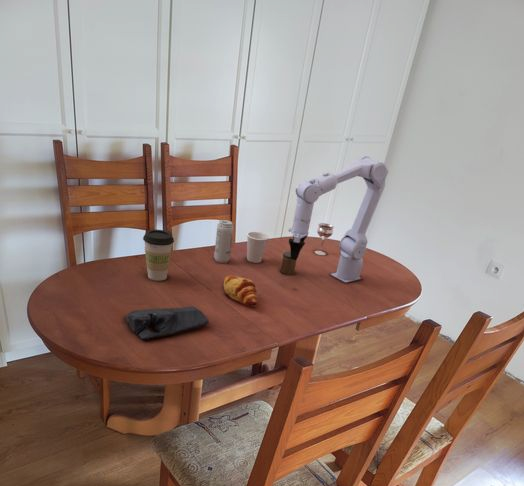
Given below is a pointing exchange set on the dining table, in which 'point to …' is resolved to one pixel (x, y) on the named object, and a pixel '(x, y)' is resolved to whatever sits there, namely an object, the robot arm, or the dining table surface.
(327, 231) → the wineglass
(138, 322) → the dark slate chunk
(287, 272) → the tea tin
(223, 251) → the energy drink can
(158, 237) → the coffee cup
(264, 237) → the dixie cup
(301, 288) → the dining table surface
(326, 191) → the robot arm
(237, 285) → the croissant
